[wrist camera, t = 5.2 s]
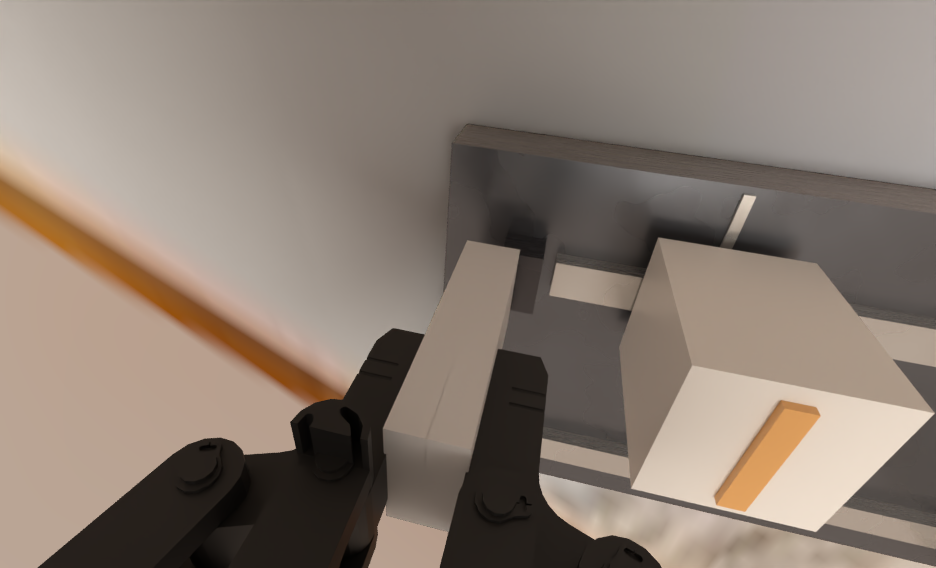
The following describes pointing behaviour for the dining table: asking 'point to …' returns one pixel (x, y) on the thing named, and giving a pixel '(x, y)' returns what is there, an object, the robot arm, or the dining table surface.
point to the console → (707, 223)
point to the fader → (756, 387)
